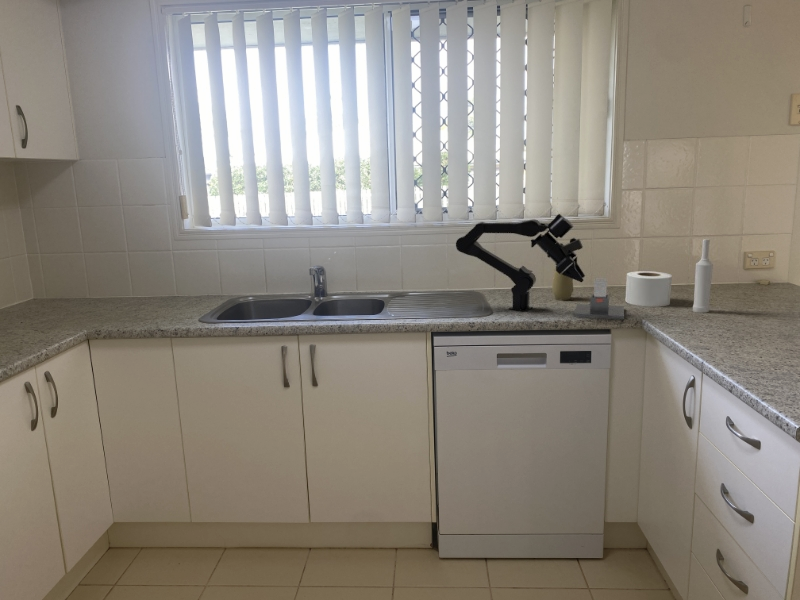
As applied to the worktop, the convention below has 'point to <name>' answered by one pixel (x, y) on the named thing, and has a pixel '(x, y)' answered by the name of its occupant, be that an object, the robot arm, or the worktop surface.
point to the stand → (599, 309)
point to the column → (600, 287)
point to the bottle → (703, 281)
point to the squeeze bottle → (562, 286)
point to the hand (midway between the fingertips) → (583, 279)
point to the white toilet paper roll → (648, 288)
